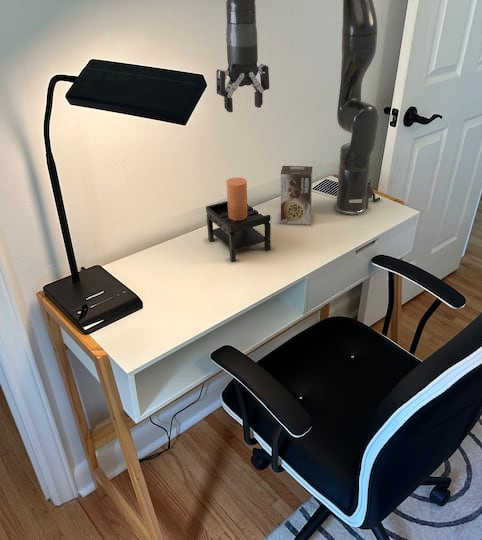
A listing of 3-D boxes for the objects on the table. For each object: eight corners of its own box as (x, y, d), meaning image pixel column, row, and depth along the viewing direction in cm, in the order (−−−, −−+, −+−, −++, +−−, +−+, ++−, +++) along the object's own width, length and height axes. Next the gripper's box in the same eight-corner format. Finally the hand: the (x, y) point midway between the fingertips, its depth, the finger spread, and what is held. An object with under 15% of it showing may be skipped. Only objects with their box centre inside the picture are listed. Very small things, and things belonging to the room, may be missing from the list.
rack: (245, 229, 150) (244, 196, 144) (270, 249, 140) (270, 215, 135) (207, 240, 144) (204, 206, 139) (231, 262, 135) (229, 227, 129)
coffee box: (311, 215, 158) (313, 166, 149) (310, 225, 152) (312, 174, 144) (281, 214, 159) (282, 164, 150) (279, 223, 153) (280, 173, 144)
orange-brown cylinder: (241, 210, 141) (240, 175, 135) (251, 217, 137) (250, 182, 131) (224, 214, 138) (222, 180, 133) (234, 222, 135) (232, 187, 129)
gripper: (223, 47, 119) (226, 117, 128) (274, 42, 126) (274, 108, 135) (208, 42, 124) (213, 110, 133) (259, 37, 131) (259, 102, 140)
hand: (244, 109), depth 134 cm, fingers open, 8 cm apart
